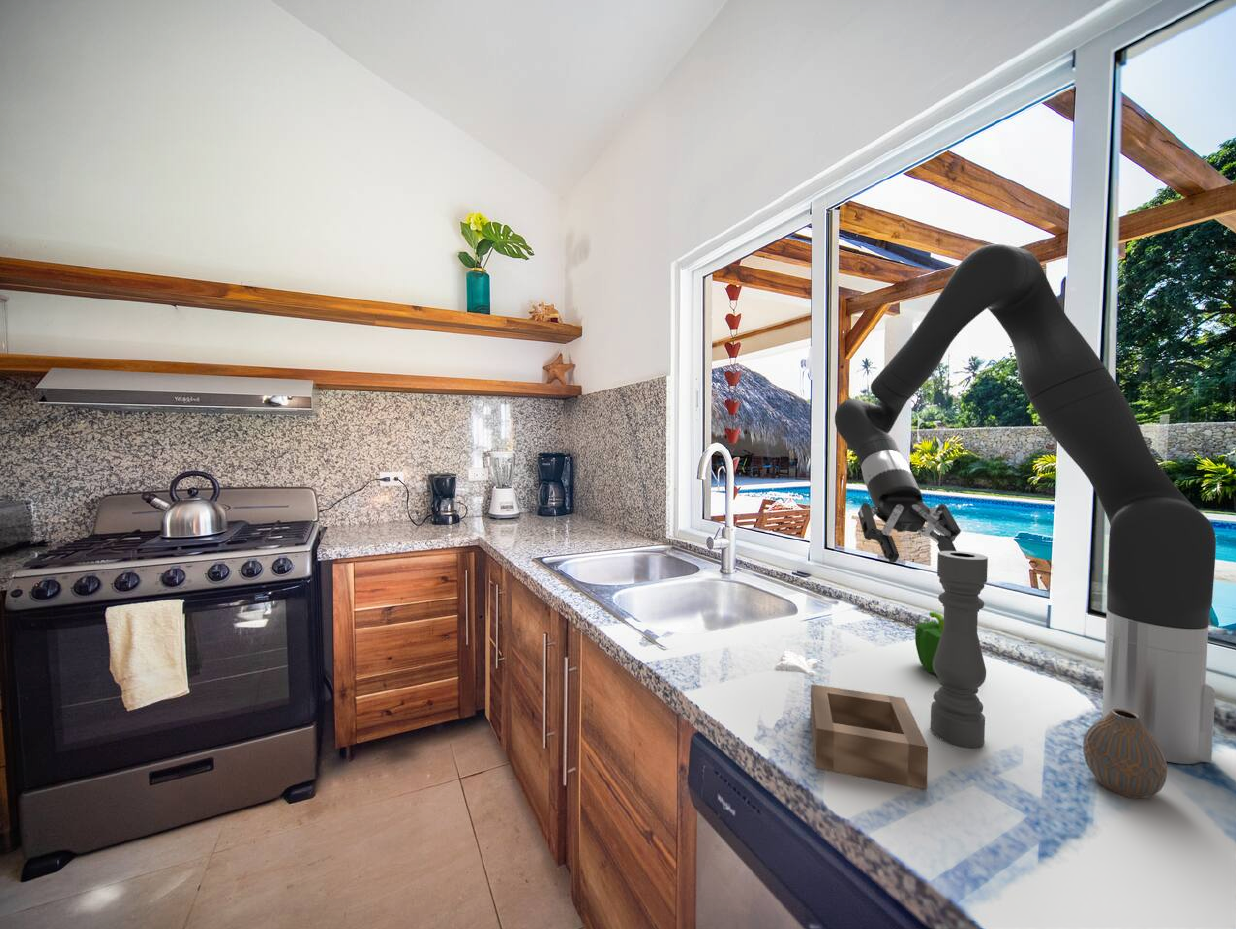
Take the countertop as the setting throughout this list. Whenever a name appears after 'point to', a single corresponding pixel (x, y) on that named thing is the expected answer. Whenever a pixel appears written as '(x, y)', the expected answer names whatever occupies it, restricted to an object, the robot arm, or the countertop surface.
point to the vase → (1125, 755)
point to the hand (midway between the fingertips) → (923, 560)
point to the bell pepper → (928, 640)
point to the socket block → (867, 736)
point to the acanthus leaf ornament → (797, 663)
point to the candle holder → (960, 651)
